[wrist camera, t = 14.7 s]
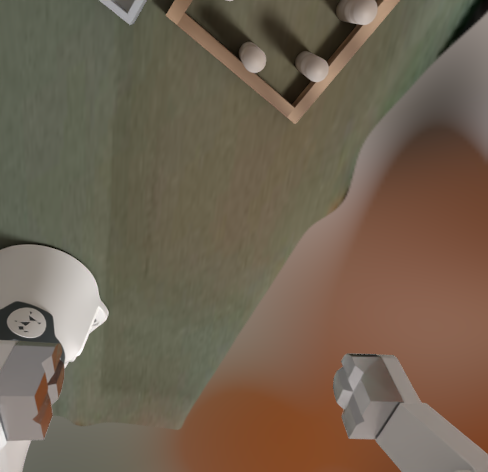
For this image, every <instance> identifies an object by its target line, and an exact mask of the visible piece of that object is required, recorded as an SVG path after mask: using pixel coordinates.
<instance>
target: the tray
mask: <svg viewBox="0 0 488 472" xmlns="http://www.w3.org/2000/svg"><path fill="white" fill-rule="evenodd" d="M99 1H101V2H102V3H103V4H104V5H106V6H107V7H108V8H109V9H111V10H112V11H113V12H114V13H116V14H117V15H118V16H119V17H121V18H122V19H123V20H124V21H126V22H127V23H128V24H130V25H131V24H134V22H135V20H136V19H137V17H138V15H139V13H140V12H141V10H142V8H143V6H144V4H145V3H146V1H147V0H99Z"/></svg>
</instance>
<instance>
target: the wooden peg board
mask: <svg viewBox="0 0 488 472" xmlns="http://www.w3.org/2000/svg"><path fill="white" fill-rule="evenodd" d="M227 1H233V0H227ZM399 1H400V0H377V1H375V0H341V1H340V2H339V3H338V5H337V8H336V14H337V17H338V19H339V20H341V21H343V22H349V23H354V24H357V25H356V27H355V28H354V29H353V30H352V32H351V33H350V34H349V35H348V36H347V38H346V39H345V40H344V41H343V43H342V44H341V45H340V46H339V47H338V49H337V50H336V51H335V52H334V54H333V55H332V56H331V57H330V58H329V60H328V61H327V62H326V61H325V60H324V59H322V58H320V57H318V56H316V55H315V54H313V53H311V52H308V51H303V52H301V53H300V54H298V56H297V57H296V60H295V66H296V68H297V70H298V71H299V72H301V73H302V74H303V75H305V76H306V77H307V78H309V79H310V80H311V82H310V83H309V84H308V85H307V87H306V88H305V89H304V90H303V91H302V93H301V94H300V95H299V96H298V98H297V99H296V100H295V101H294V102H293V104H290V103H289V102H288V101H287V100H286V99H285V98H284V97H282V96H281V95H280V94H279V93H278V92H277V91H275V90H274V89H273V88H272V87H271V86H270V85H269V84H267V83H266V82H265V81H264V80H263V79H262V78H260V77H259V76H258V75H257V74H256V73H257V72H260V71H261V70H262V69H263V68H264V66H265V64H266V56H265V54H264V52H263V51H262V50H261V49H260V48H259V47H258V46H257V45H255V44H254V43H252V42H245V43H243V44H242V45H241V47H240V49H239V58H240V59H239V58H237V57H236V56H235V55H234V54H233V53H232V52H230V51H229V50H228V49H227V48H226V47H225V46H224V45H222V44H221V43H220V42H219V41H218V40H217V39H215V38H214V37H213V36H212V35H211V34H210V33H209V32H207V31H206V30H205V29H204V28H203V27H202V26H200V25H199V24H198V23H197V22H196V21H195V20H194V19H192V18H191V17H190V16H189V15H188V14H187V13H185V12H186V10H187V8H188V7H189V5H190V4H191V2H192V0H174V2H173V4H172V5H171V7H170V9H169V11H168V12H167V14H166V16H167V17H168V18H169V19H170V20H172V21H173V22H174V23H175V24H176V25H178V26H179V27H180V28H181V29H182V30H184V31H185V32H186V33H187V34H188V35H190V36H191V37H192V38H193V39H194V40H195V41H197V42H198V43H199V44H200V45H201V46H203V47H204V48H205V49H206V50H207V51H209V52H210V53H211V54H212V55H213V56H214V57H216V58H217V59H218V60H219V61H220V62H222V63H223V64H224V65H225V66H226V67H228V68H229V69H230V70H231V71H232V72H234V73H235V74H236V75H237V76H238V77H239V78H241V79H242V80H243V81H244V82H245V83H247V84H248V85H249V86H250V87H251V88H253V89H254V90H255V91H256V92H257V93H258V94H260V95H261V96H262V97H263V98H264V99H266V100H267V101H268V102H269V103H270V104H272V105H273V106H274V107H275V108H276V109H278V110H279V111H280V112H281V113H282V114H283V115H285V116H286V117H287V118H288V119H289V120H291V121H292V122H293V123H294V124H296V123H297V122H298V120H299V119H300V118H301V117H302V116H303V115H304V113H305V112H306V111H307V110H308V109H309V107H310V106H311V105H312V104H313V103H314V101H315V100H316V99H317V98H318V97H319V96H320V94H321V93H322V92H323V91H324V90H325V88H326V87H327V86H328V85H329V84H330V83H331V81H332V80H333V79H334V78H335V77H336V75H337V74H338V73H339V72H340V71H341V69H342V68H343V67H344V66H345V65H346V64H347V62H348V61H349V60H350V59H351V58H352V56H353V55H354V54H355V53H356V52H357V50H358V49H359V48H360V47H361V46H362V45H363V43H364V42H365V41H366V40H367V39H368V37H369V36H370V35H371V34H372V33H373V32H374V30H375V29H376V28H377V27H378V26H379V24H380V23H381V22H382V21H383V20H384V18H385V17H386V16H387V15H388V14H389V13H390V11H391V10H392V9H393V8H394V7H395V5H396V4H397V3H398V2H399Z"/></svg>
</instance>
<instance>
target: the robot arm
mask: <svg viewBox="0 0 488 472" xmlns="http://www.w3.org/2000/svg"><path fill="white" fill-rule="evenodd" d="M108 315H109V312H108V309H107V308H106V306H105V305H104V304H103V302H102V301H101V300H100V297H99V292H98V286H97V283H96V281H95V279H94V277H93V275H92V274H91V273H90V271H89V270H88V269H87V268H86V267H85V266H84V265H83V264H82V263H81V262H79V261H78V260H77V259H75V258H74V257H72V256H70V255H68V254H66V253H64V252H62V251H60V250H57V249H54V248H50V247H46V246H41V245H31V244H25V245H15V246H11V247H7V248H4V249H1V250H0V472H22V470H23V465H24V461H25V458H26V454H27V451H28V448H29V445H30V442H31V440H44V438H45V435H46V432H47V429H48V427H49V424H50V421H51V419H52V416H53V412H52V406H51V405H52V404H53V403H54V402H55V401H57V400H58V399H59V396H60V393H61V390H62V386H63V381H64V373H65V367H66V366H67V364H68V362H69V361H70V362H73V361H74V360H75V358H76V357H77V356H79V355H80V354H81V352H82V350H83V348H84V345H85V343H86V340H87V338H88V335H89V333H90V332H92V331H93V330H94V329H96V328H97V327H98V326H99V325H101V324H102V323H103V322H104V321H105V320H106V319H107V317H108ZM341 362H342V365H343V367H342V368H341V369H339V370H338V371H337V372H336V374H335V377H334V382H333V383H334V384H333V389H334V395H335V398H336V401H337V403H338V404H339V405H340V406H341V407H342V408H343V409H344V411H343V414H342V419H343V423H344V425H345V428H346V431H347V434H348V437H349V439H350V438H351V439H376V442H377V443H378V444H379V445H380V446H381V448H382V449H383V450H384V451H385V452H386V454H387V455H388V456H389V457H390V458H391V460H392V461H393V462H394V463H395V464H396V465H397V467H399V469H400V470H401V471H402V472H488V454H487V453H486V452H484V451H483V450H482V449H481V448H480V447H478V446H477V445H476V444H475V443H473V442H472V441H471V440H470V439H468V438H467V437H466V436H465V435H464V434H462V433H461V432H460V431H459V430H458V429H457V428H455V427H454V426H453V425H452V424H450V423H449V422H448V421H447V420H445V419H444V418H443V417H442V416H441V415H440V414H438V413H437V412H436V411H435V410H433V409H432V408H431V407H430V406H429V405H427V404H426V403H421V401H420V399H419V398H418V396H417V394H416V392H415V390H414V389H413V387H412V385H411V383H410V381H409V379H408V378H407V376H406V374H405V372H404V370H403V368H402V366H401V365H400V363H399V361H398V359H397V358H396V357H395V356H394V355H376V354H346V355H345V356H344V357H343V359H342V361H341Z"/></svg>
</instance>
